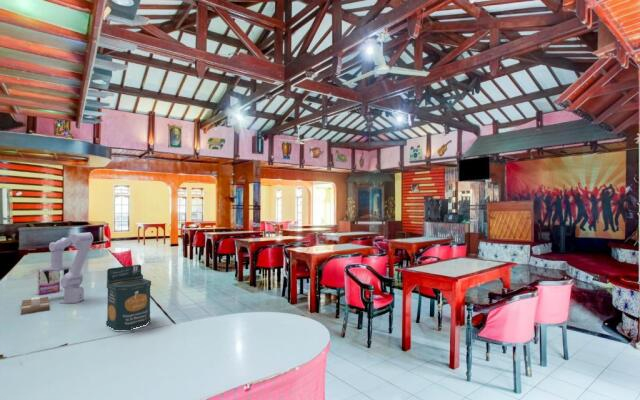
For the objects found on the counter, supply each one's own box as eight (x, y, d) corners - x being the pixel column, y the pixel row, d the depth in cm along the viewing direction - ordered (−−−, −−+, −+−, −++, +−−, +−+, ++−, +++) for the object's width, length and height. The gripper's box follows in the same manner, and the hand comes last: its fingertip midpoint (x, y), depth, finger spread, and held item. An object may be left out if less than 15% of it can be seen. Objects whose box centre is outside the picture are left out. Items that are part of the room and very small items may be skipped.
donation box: (140, 317, 177) (141, 264, 177) (154, 324, 167) (155, 267, 167) (106, 325, 164) (106, 268, 165) (119, 333, 154) (119, 272, 155)
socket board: (49, 310, 189) (49, 305, 189) (21, 314, 181) (21, 310, 181) (48, 300, 207) (48, 296, 207) (22, 304, 199) (22, 300, 199)
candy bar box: (57, 290, 232) (57, 267, 232) (59, 291, 229) (60, 267, 229) (36, 294, 223) (37, 269, 223) (39, 295, 220) (39, 270, 220)
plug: (39, 309, 189) (39, 298, 189) (31, 310, 187) (31, 299, 187) (39, 307, 192) (39, 296, 192) (31, 308, 190) (31, 297, 190)
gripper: (70, 258, 220) (70, 279, 220) (41, 261, 211) (41, 282, 210) (71, 260, 215) (70, 281, 214) (42, 262, 205) (41, 284, 205)
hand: (56, 282), depth 212 cm, fingers open, 7 cm apart
